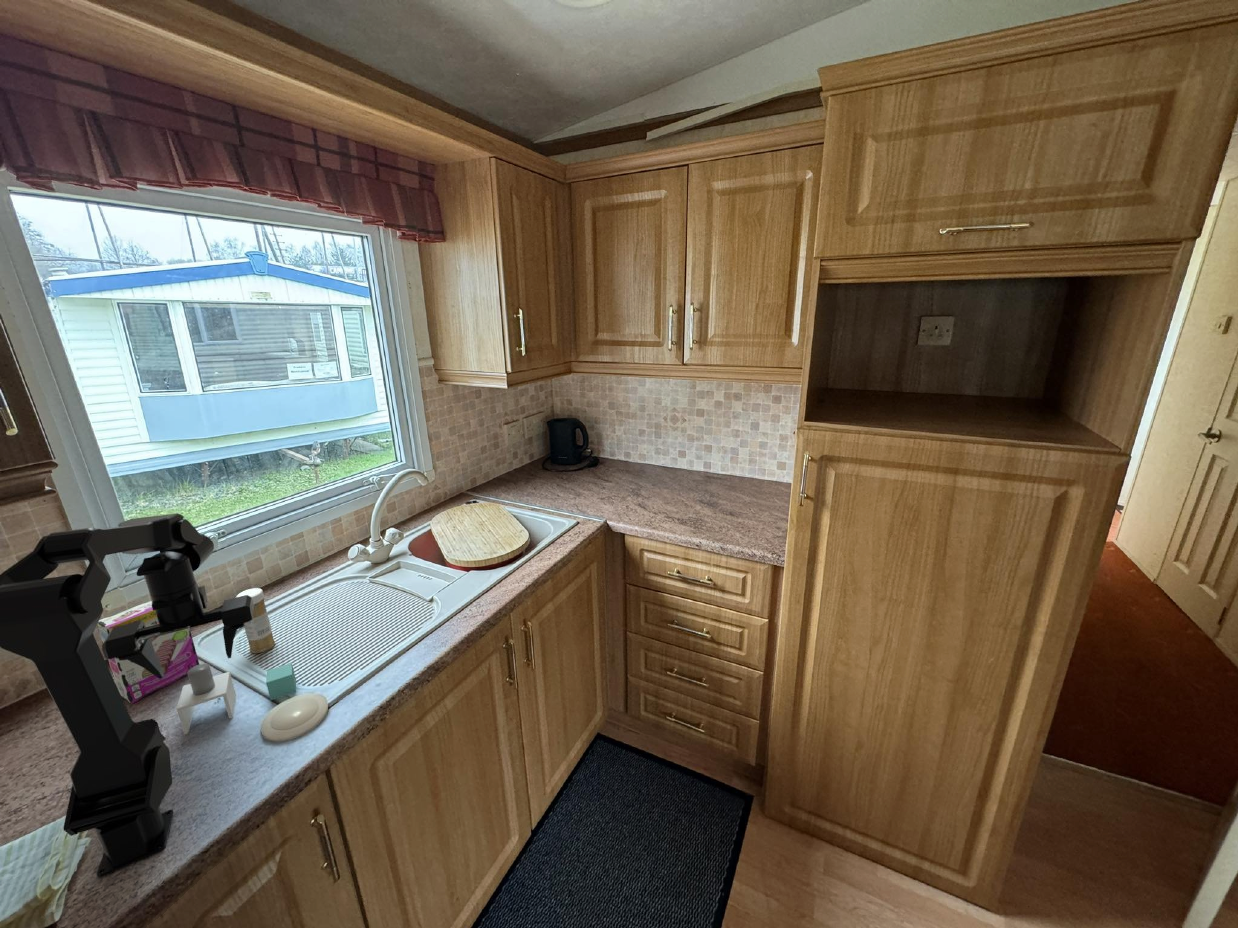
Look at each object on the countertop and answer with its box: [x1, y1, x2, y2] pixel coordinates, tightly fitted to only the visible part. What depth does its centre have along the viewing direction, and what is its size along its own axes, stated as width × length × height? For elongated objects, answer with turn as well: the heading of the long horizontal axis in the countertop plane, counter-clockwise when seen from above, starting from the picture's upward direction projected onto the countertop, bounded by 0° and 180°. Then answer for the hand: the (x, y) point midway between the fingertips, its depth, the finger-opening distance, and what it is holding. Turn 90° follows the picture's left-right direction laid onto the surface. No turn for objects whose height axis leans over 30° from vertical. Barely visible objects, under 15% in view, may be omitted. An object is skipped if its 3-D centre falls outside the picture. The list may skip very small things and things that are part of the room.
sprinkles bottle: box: [235, 587, 276, 654], centre depth 103 cm, size 5×5×14 cm
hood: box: [176, 663, 237, 735], centre depth 86 cm, size 7×7×10 cm
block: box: [265, 662, 297, 701], centre depth 92 cm, size 4×4×4 cm
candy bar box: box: [96, 600, 201, 704], centre depth 93 cm, size 11×5×16 cm, turn 154°
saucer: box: [260, 692, 329, 743], centre depth 86 cm, size 10×10×1 cm
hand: (196, 666), depth 85 cm, fingers open, 9 cm apart
